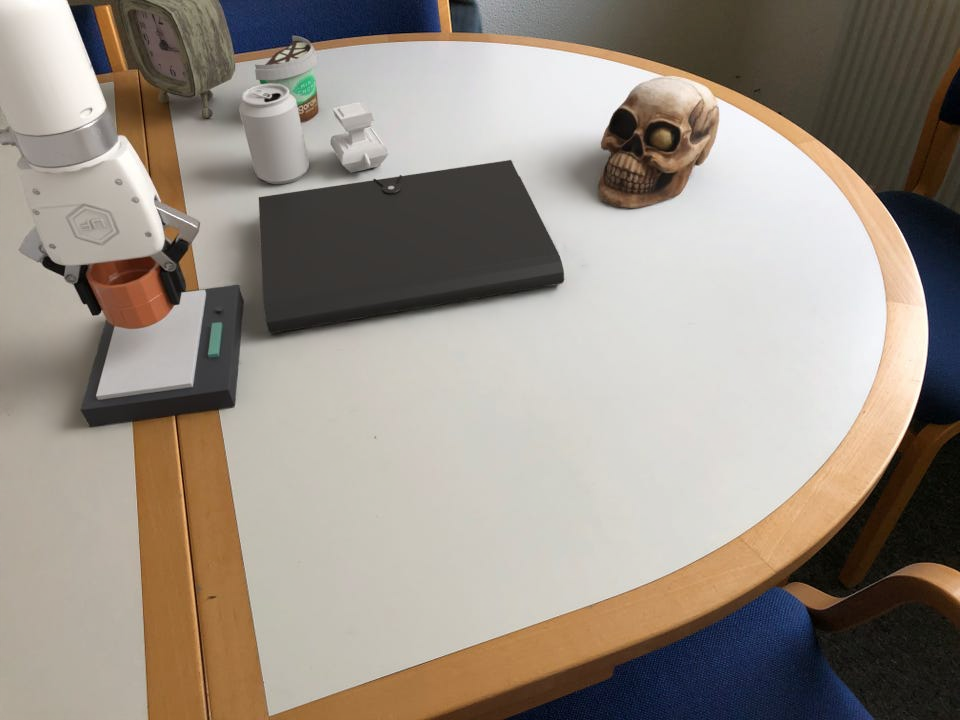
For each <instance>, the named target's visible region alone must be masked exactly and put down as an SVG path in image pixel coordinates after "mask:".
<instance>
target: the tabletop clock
mask: <svg viewBox="0 0 960 720" xmlns="http://www.w3.org/2000/svg"><path fill="white" fill-rule="evenodd" d="M117 4H118V5H117V6H118V11H119V16H120V20H121V23H122V26H123V30H124V33H125V37H126V40H127V43H128V45H129V48H130V51H131V54H132V56H133V58H134V61H135V63H136V66H137V68H138V70H139V72H140V74H141V75H142V77H143V79H144V80H145V81H146V82H147V83H148V84H149V85H150V86H153V87H154V88H156V89H158V90H161V91H162V92H160V93H158V97H157V98H158V101H159V102H161V103H163V104H166V103H167V102H169V100H170V96H169V94H170V95H173V96H176V97H181V98H186V99H192V98H195V97H197V96H199V95H200V97H201V101H202V104H203V108H202V110H201V114H202V116H203V117H204V118H206V119H210V118H212V117H213V115H214V112H213V109H211V107H209V104H208V103H209V102H208V101H210V100H211V99H213V95H214V94H213V92H212V89H214V88H215V87H219V86H220V85H222V84H224V83H226V82H229V81H230V80H232V78H233V76H234V74H235V71H236V56H235V51H234V46H233V42H232V38H231V34H230V30H229V26H228V22H227V19H226V16H225V12H224V10H223V7H222V5H221V2H220V1H219V0H117Z"/></svg>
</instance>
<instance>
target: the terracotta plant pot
mask: <svg viewBox="0 0 960 720" xmlns="http://www.w3.org/2000/svg"><path fill="white" fill-rule="evenodd" d="M160 271H161V266H160V265H159V264H158V263H157V262H156V261H154V260H153V259H152V258H151V257H150V256H148V257H142V258H135V259H127V260H120V261H112V262H104V263H95V264H90V265H89V266H88V269H87V272H86V277H87V279H88V282H89V284H90V286H91V288H92V290H93V292H94V294H95V296H96V299H97V301H98V303H99V305H100V307H101V309H102V311H101V312H102V313H103V315H104V318H105V321H106V320H107V322H109V323H110V324H112V325H114V326H115V327H121V328H125V329H139V328H144V327H148V326H151V325H153V324H155V323H157V322H159V321H161V320H162V319H163V318H165V317H166V316H167V315H168V314H169V312H170V311H171V310H172V308H173V307H174V305H173V304H171V303H170V300H169V297H168V295H167V292H166V290H165V287H164V285H163V282H162V280H161V277H160Z"/></svg>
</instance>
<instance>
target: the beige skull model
mask: <svg viewBox="0 0 960 720" xmlns="http://www.w3.org/2000/svg"><path fill="white" fill-rule="evenodd" d="M611 115H612V116H611V117H610V119H609V122H608V125H607V127H606V128H605V130H604V132H603V134H602V135H603V136H602V138H601V141H600V148H601V149H602V150H603V151H608V152H609V156H608V158H607V161H606V163H605V165H604V166H603V169H602V172H601V175H600V178H599V181H598V184H597V191H598V194H599V198H600V200H601V201H602V202H603V203H605V204H608V205H611V206H613V207H618V208H629V209H637V208H643V207H647V206H650V205H653V204H656V203H657V202H663V201H666V200H668V199H669V198H674V197H675V198H676V197H677V196H679V195H680V194H681V193H683V191H684V189H685V188H686V186H687V184H688V181H689V179H690V177H691V174H692V172H693V169H694V168H695V167H696V166H697V167H698V166H701V165H703V164H704V162H705V161H706V159H707V158H708V156H709V154H710V152H711V150H712V147H713V146H714V144H715V141H716V138H717V133H718V128H719V123H720V107H719V103H718V101H717V98H716V97H715V95H714V93H713V92H712V91H711V90H710V89H709V88H708V87H707V86H706V85H704V84H702V83H699V82H697V81H694V80H692V79H689V78H685V77H682V76H676V75H668V76H659V77H655V78H651V79H649V80H646V81H643V82H641V83H639V84H637V85H636V86H634V88H633V89H632V90H630V92H629V94H628V96H627V97H626V99H625V100H624V101H623V102H622V103H621V104H620V105H619V106H618V107H617V109H615V111H614V112H613V113H612V114H611Z"/></svg>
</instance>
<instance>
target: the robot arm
mask: <svg viewBox="0 0 960 720" xmlns="http://www.w3.org/2000/svg"><path fill="white" fill-rule="evenodd" d="M0 109H1V110H2V113H3V114H4V117H5V119H6V121H7V123H8V126H6V127H4V128H0V145H1V146H12V147H16V148H17V150H18V152H19V154H20V156H21V157H20V158H19V159H18V160H17V162H16V166H17V171H18V176H19V180H20V184H21V187H22V191H23V194H24V197H25V201H26V204H27V208H28V210H29V213H30V216H31V218H32V221H33V223H34V226H33V227H32V228H31V230H29V232H28V233H27V235H26V236H25V237H24V238H23V240H22V241H21V244H20V246H19V248H18V250H19V253H20V254H22V255H23V256H25V257H26V258H28V259H31V260H32V261H34V262H36V263H40V264H41V265H42V266H43V267H44V268H45V269H46V270H48V271H51V272H53V273H55V274H56V275H59V276H61V277H63V279H64V281H65V282H66V283H68V284H71V285H73V287H74V289H75V291H76V293H77V295H78V298H79V299H80V301H81V303H82V304H83V305H87V308H88V310H89V312H90V314H91V316H93V317H96V316H100V314H102V312H103V311H102V309H101V307H100V305H99V303H98V301H97V299H96V296H95V294H94V292H93V290H92V288H91V286H90V284H89V282H88V279H87V277H86V272H87V269H88V266H89V265H90V264H95V263H104V262H112V261H120V260H127V259H135V258H142V257H148V256H150V257H151V258H152V259H153V260H154V261H156V262H157V263H158V264H159V265H160V266H161V271H160V277H161V280H162V282H163V285H164V287H165V290H166V292H167V295H168V297H169V300H170V303H171V304H173V305H179V304H180V299H181V294H182V292H185V291H187V282H186V279H185V275H184V273H183V270H182V268H181V265H180V261H181V260H182V259H183V257H185V255H186V253H188V252H189V251H188V250H189V248H190V246H191V244H193V242H194V240H195V239H196V237H197V236H198V234H199V232H200V226H201V222H200V220H199V219H197V218H195V217H193V216H190V215H189V214H186V213H184V212H182V211H180V210H178V209H176V208H174V207H172V206H170V205H168V204H166V203H164V202H162V200H161V198H160V195H159V194H158V191H157V189H156V187H155V185H154V183H153V180H152V178H151V176H150V175H149V172H148V170H147V168H146V166H145V165H144V163H143V162H142V160H141V158H140V156H139V155H138V153H137V151H136V150H135V148H134V147H133V145H132V144H131V142H130V141H129V140H128V138H127V136H125V135H123V134H122V135H121V134H118V131H117V129H116V126H115V123H114V121H113V118H112V115H111V113H110V110H109V107H108V105H107V102H106V99H105V97H104V94H103V91H102V89H101V87H100V83H99V81H98V78H97V76H96V72H95V70H94V68H93V65H92V62H91V60H90V57H89V54H88V52H87V49H86V46H85V43H84V42H83V38H82V36H81V33H80V31H79V28H78V25H77V22H76V21H75V17H74V15H73V12H72V9H71V7H70V4H69V2H68V0H0ZM168 227H170V228H173V229H175V230H177V231H178V232H179V233H178V234H177V235H176V236H175V238H174V239H173V240H171V239H169V238H168V236H166V235H165V232H164V230H166V229H167V228H168Z"/></svg>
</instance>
